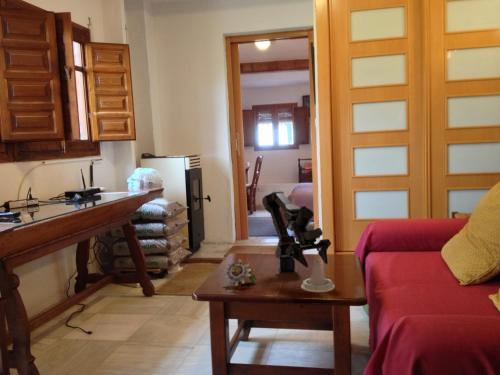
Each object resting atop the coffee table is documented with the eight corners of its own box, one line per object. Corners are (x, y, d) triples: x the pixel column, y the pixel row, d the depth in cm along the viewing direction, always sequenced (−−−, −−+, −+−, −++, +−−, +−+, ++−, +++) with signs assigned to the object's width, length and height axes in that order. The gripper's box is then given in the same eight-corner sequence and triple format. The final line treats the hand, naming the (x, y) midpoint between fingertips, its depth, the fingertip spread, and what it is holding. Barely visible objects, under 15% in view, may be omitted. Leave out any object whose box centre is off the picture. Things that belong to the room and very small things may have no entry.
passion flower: (237, 298, 176) (219, 277, 174) (240, 285, 186) (223, 265, 184) (259, 284, 173) (240, 262, 171) (261, 272, 183) (244, 251, 181)
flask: (325, 282, 174) (324, 258, 173) (327, 288, 167) (327, 262, 166) (307, 282, 174) (306, 258, 173) (308, 288, 167) (308, 263, 166)
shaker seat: (305, 293, 163) (305, 287, 163) (298, 283, 176) (298, 278, 176) (338, 291, 165) (338, 285, 164) (329, 281, 177) (329, 276, 177)
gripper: (289, 224, 169) (304, 257, 160) (328, 219, 177) (345, 251, 168) (279, 240, 177) (294, 272, 168) (317, 235, 185) (333, 266, 176)
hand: (317, 265), depth 170 cm, fingers open, 9 cm apart
